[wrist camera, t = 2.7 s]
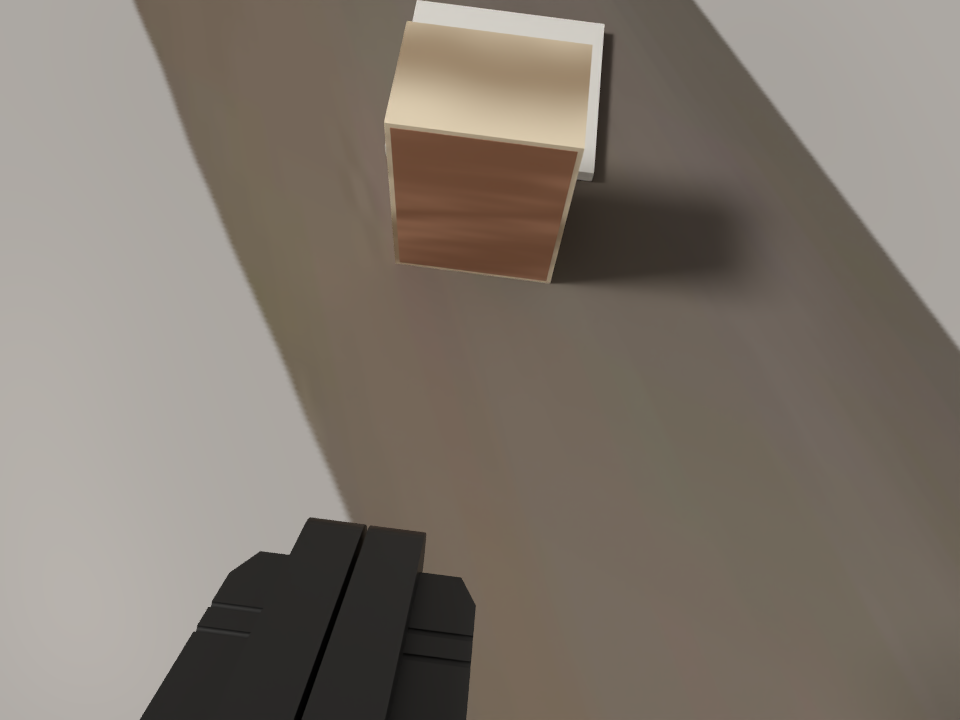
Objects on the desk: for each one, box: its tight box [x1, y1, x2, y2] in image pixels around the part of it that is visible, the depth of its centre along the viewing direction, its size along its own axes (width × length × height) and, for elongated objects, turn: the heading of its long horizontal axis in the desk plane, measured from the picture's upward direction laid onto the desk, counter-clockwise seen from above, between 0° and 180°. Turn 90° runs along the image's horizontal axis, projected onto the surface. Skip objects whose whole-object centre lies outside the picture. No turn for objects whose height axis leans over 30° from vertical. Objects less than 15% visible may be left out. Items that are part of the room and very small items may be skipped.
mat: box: [385, 0, 604, 181], centre depth 40 cm, size 10×10×1 cm
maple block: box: [384, 21, 593, 283], centre depth 32 cm, size 5×7×9 cm
